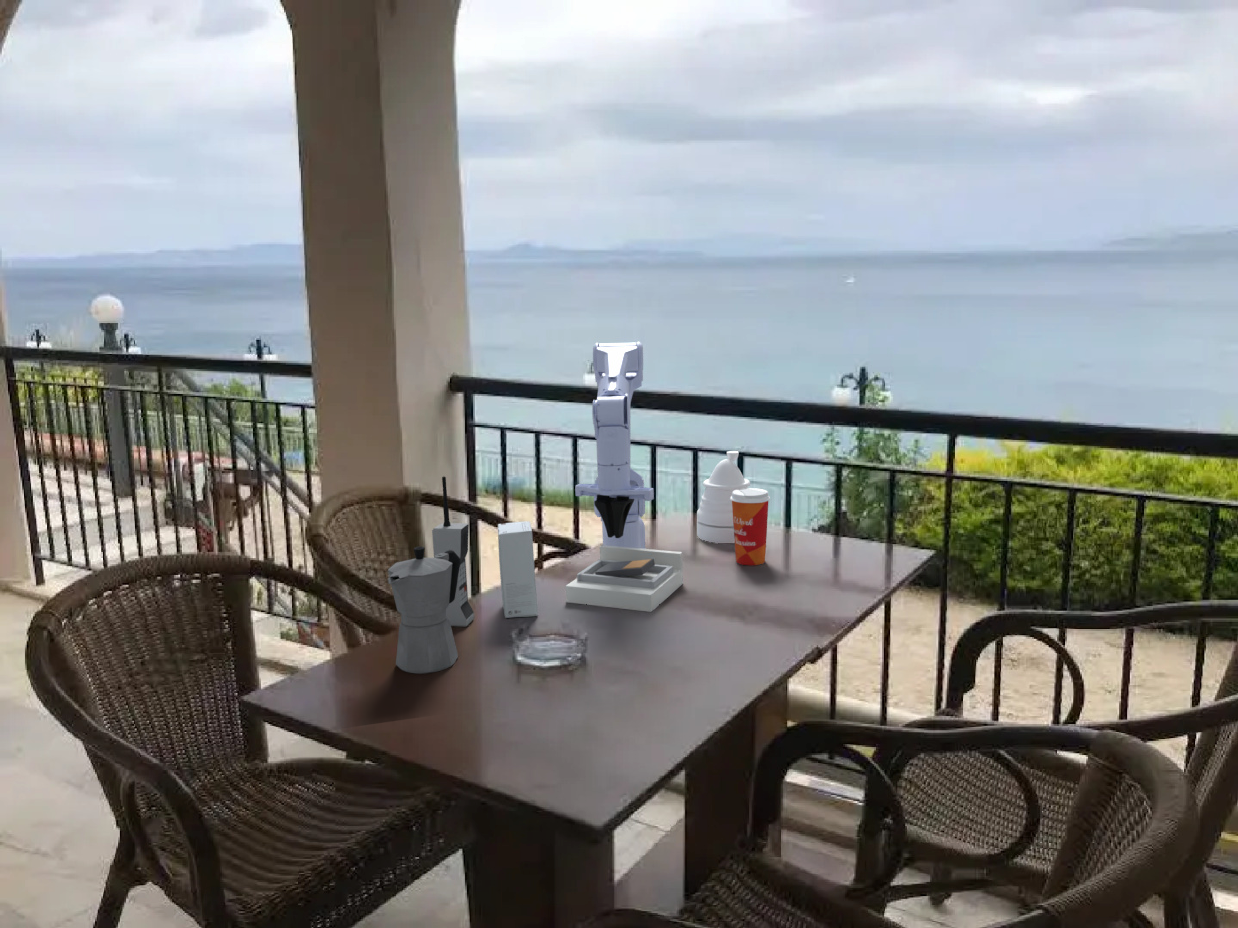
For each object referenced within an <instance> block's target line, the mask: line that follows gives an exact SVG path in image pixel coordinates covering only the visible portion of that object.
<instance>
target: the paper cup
mask: <svg viewBox="0 0 1238 928" xmlns="http://www.w3.org/2000/svg"><path fill="white" fill-rule="evenodd" d="M730 499H731V500H732V510H733V525H734V540H735V544H734V551H735V560H736V561H735V562H736V563H737V564H738V563H739V564H738V565H742V566H747V565H748V566H761V565H763V564H764V563H765V562H766V553H767V550H766V549H767V538H768V537H767V533H768V520H769V519H768V517H769V502H770V500H771V496H769V491H768V490H766V489H764V488H763V489H762V488H756V487H748V488H746V489H739V490H734V491H733V492H732V496H731V497H730ZM760 564H761V565H760ZM748 566H747V567H748Z"/></svg>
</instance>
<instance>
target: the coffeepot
mask: <svg viewBox="0 0 1238 928" xmlns="http://www.w3.org/2000/svg"><path fill="white" fill-rule="evenodd" d="M425 549H426V547H425V546H420V545H419V546H416V547H414V548H413V552H414V557H415V558H412V559H407V560H403V561H402V560H401V561H398V562H395V563H394V564H393V565H391V566H390V567H389V568H388V569H387V574H388V578H387V583H388V584H389V585H390V586H391V589H392V594H393V598H394V602H395V607H396V611H397V612H398V613H400V624H399V628H398V635H397V636H398V638H397V648H396V649H397V650H396V656H395V657H396V658H395V665H396V666H397V667H398V669H400V670H401V671H403V672H406V673H410V674H430V673H436V672H439V671H443V670H446V669H448V668H450V667H452V666H453V665H454V664H455V663H456V661H457V659H458V657H459V653H458V649H457V646H456V642H455V638H454V634H453V630H452V626H451V625H450V621H449V619H448V618H447V616H446V608H447V607H448V605H449V604H450V603H451V602H453V601H454V599H455V594H456V588H457V581H458V574H459V568H460V558H459V556H458V555H457V554H456V553H455V552H454V551H453V550H448V551H446V552H444V553H440V554H437V555H435V558H434V557H425Z"/></svg>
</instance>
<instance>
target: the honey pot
mask: <svg viewBox="0 0 1238 928" xmlns="http://www.w3.org/2000/svg"><path fill="white" fill-rule="evenodd" d="M739 453H740V452H739V451H737V450H729V451H726V458H725V459H722V460H720V461H719V462H718V463H717V464H716V466H715V467H714V469H713V471H711V475H710V476H709V478H707V479H705V480H704V481H703V482H702V485H703V486H704V488H705V489H704V491H703V494H702V495H701V497H700V498H701V501H700V503H699V508H698V510H697V511H696V537H697V536H698V537H699V538H700V539H702V540H701V541H703V540H705V541H704V542H706V541H709V542H708V543H711V542H715V543H714V544H718V543H735V540H734V525H733V510H732V500H731V499H730V497H731V496H732V492H733V491H734V490H739V489H746V488H749V486H751V481H750V480H749V479H748V478H747V479H746V478H745V477H744V476H743V473H742V472H741V470H740V468H739V467H738V466H737V464H736V463H735V461H736V460H737V459H738V458H739ZM698 537H697V538H698ZM699 538H698V539H699ZM700 539H699V540H700Z"/></svg>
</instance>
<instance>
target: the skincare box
mask: <svg viewBox="0 0 1238 928" xmlns="http://www.w3.org/2000/svg"><path fill="white" fill-rule="evenodd" d="M532 529H533V528H532V524H531V521H530V520H528V521H527V520H526V521H515V522H505V523H498V524H497V534H498V535H497V537H498V541H497V542H498V559H499V560H498V562H499V563H498V565H499V574H500V575H499V576H500V589H501V600H502V608H503V613H504V618H507V619H508V618H509V619H510V618H518V617H519V618H521V617H522V618H523V617H538V616H539V608H538V597H537V594H538V593H537V585H536V583H537V582H536V570H535V559H534V557H535V556H534V555H535V554H534V541H533V530H532Z"/></svg>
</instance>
